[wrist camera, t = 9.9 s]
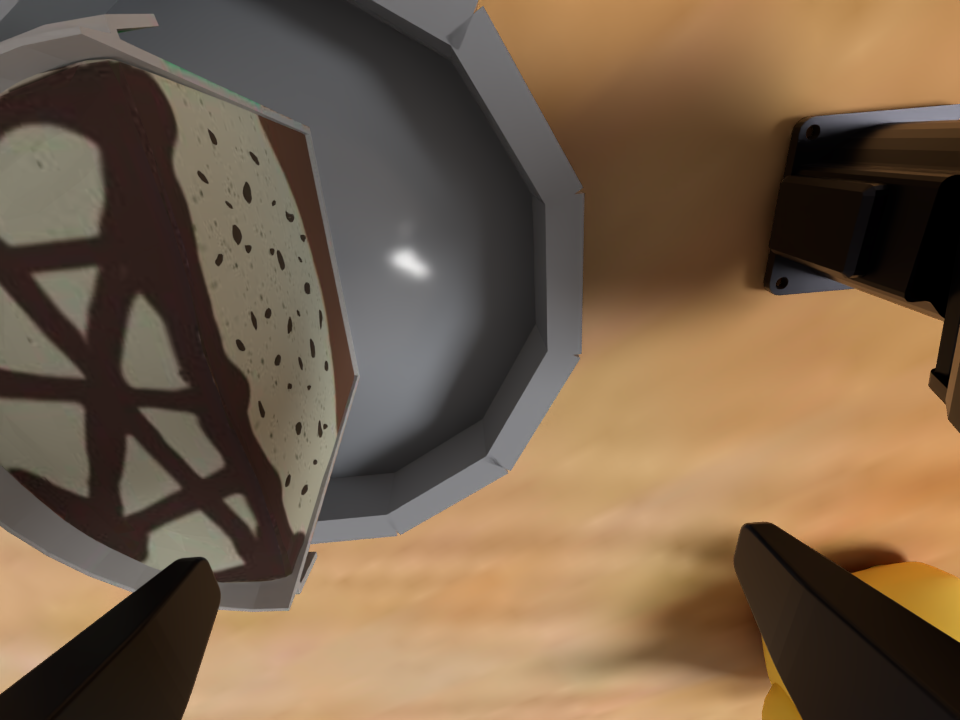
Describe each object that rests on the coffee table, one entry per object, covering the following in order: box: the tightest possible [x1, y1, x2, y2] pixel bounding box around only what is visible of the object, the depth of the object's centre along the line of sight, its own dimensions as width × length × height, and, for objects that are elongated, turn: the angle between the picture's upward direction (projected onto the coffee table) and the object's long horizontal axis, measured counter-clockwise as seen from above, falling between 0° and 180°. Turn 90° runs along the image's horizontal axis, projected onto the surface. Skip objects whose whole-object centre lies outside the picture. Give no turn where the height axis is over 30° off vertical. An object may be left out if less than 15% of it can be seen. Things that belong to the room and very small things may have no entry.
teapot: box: [761, 562, 960, 720], centre depth 25 cm, size 14×13×10 cm
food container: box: [0, 14, 360, 612], centre depth 13 cm, size 12×6×10 cm, turn 4°
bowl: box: [0, 0, 584, 544], centre depth 17 cm, size 21×21×4 cm
